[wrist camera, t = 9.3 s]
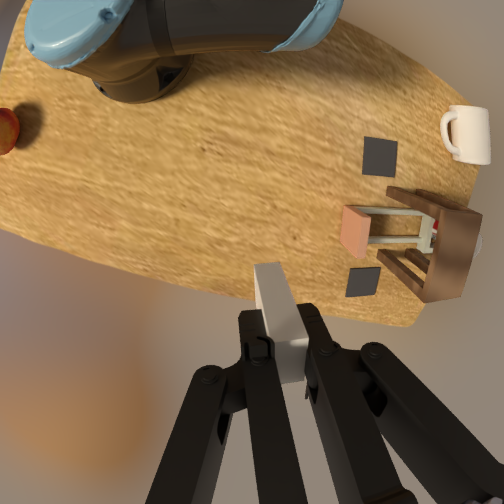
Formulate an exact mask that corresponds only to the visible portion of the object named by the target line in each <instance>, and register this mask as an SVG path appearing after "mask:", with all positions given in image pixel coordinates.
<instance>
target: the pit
mask: <svg viewBox="0 0 504 504" xmlns="http://www.w3.org/2000/svg"><path fill="white" fill-rule="evenodd" d="M396 151H397V142H396V141H391V140H385V139H379V138H372V137H365V136H364V153H363V168H362V174H364V175H375V176H385V177H394V175H395V164H396Z"/></svg>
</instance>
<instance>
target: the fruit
mask: <svg viewBox="0 0 504 504" xmlns="http://www.w3.org/2000/svg"><path fill="white" fill-rule="evenodd" d="M19 131H20V123H19V120H18V118H17V116H16V115H15V114H14V113H13V111H11V110H10V109H8V108H0V155H5V154H7V153H9V152H10V151H11V150H12V149H13V147H14V145H15V143H16V140H17V138H18V135H19Z"/></svg>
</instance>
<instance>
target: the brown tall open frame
mask: <svg viewBox="0 0 504 504" xmlns="http://www.w3.org/2000/svg"><path fill="white" fill-rule="evenodd" d="M386 196H388V197H391V198H393V199H395V200H397V201H399V202H401V203H403V204H405V205H408V206H410V207H412V208H414V209H416V210H418V211H420V212H422V213H424V214H426V215H428V216H430V217H432V218H434V219H436V220H437V221H439V224H438V229H437V234H436V239H435V243H434V248H433V252H432V256H431V260H430V261H429V260H428V259H426V258H425V257H424V256H422V255H421V254H420V253H418V252H417V251H415V250H414V249H406V253H405V257H406V258H407V259H408V260H409V261H411V262H412V263H413V264H414V265H416V266H417V267H418V268H419V269H420V270H422V271H423V272H424V273H425V274H427V276H426V279H425V282H424V281H423V280H421V279H420V278H419V277H418V276H417V275H416V274H415V273H413V272H412V271H411V270H410V269H409V268H407V267H406V266H405V265H404V264H403V263H402V262H400V261H399V260H398V259H397V258H396V257H394V256H393V255H392V254H391V253H389V252H388V251H387V250H386V249H379V250H378V253H377V259H378V260H379V261H380V262H382V263H383V264H384V265H385V266H386V267H387V268H388V269H389V270H390V271H391V272H392V273H393V274H394V275H396V276H397V277H398V278H399V279H400V280H401V281H402V282H403V283H404V284H405V285H406V286H407V287H408V288H409V289H410V290H411V291H412V292H413V293H414V294H415V295H416V296H417V297H418V298H419V299H420V300H421V301H422V302H423V303H429V302H435V301H441V300H447V299H452V298H457V297H461V294H462V291H463V288H464V285H465V282H466V278H467V276H468V272H469V269H470V266H471V262H472V259H473V255H474V251H475V247H476V243H477V239H478V235H479V230H480V226H481V221H482V214H480V213H477V212H475V211H473V210H471V209H469V208H466V207H464V206H462V205H460V204H457V203H455V202H453V201H450V200H448V199H445V198H443V197H440V196H438V195H435V194H433V193H430V192H428V191H425V190H422V189H416V194H415V195H414V194H412V193H409V192H407V191H404V190H402V189H399V188H397V187H392V186H387V192H386Z"/></svg>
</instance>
